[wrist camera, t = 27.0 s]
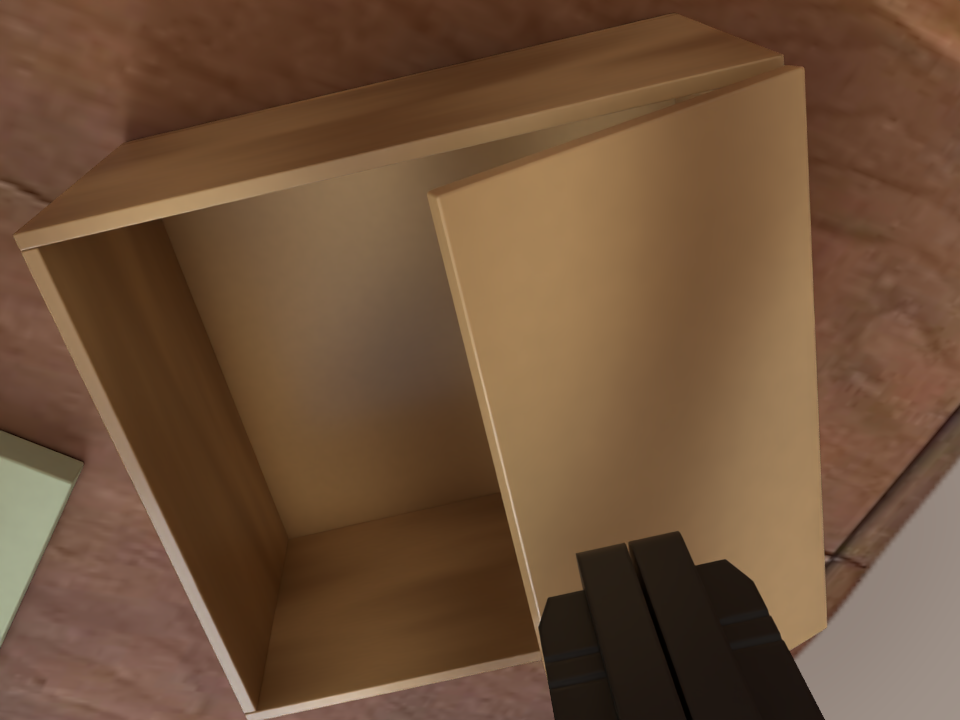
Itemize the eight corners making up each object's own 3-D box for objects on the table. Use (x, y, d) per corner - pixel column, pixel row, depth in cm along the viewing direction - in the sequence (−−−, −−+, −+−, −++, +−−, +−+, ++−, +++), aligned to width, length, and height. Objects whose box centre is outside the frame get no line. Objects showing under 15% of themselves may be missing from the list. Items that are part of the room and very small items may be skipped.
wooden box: (675, 12, 19) (784, 53, 14) (720, 445, 25) (812, 602, 19) (122, 142, 20) (11, 234, 14) (283, 542, 25) (248, 723, 20)
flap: (786, 63, 14) (805, 65, 13) (813, 617, 19) (828, 628, 18) (424, 191, 12) (436, 196, 11) (567, 765, 17) (579, 781, 17)
